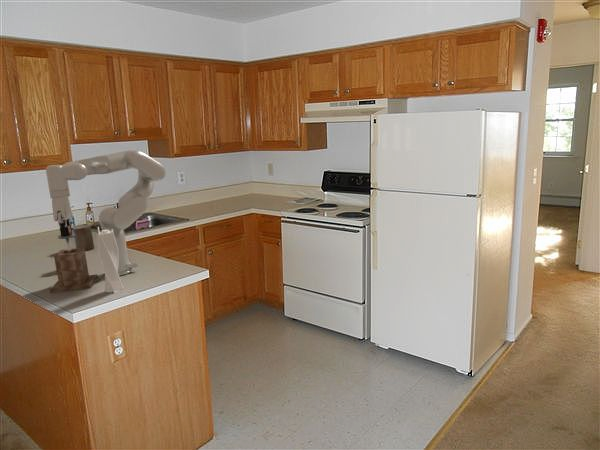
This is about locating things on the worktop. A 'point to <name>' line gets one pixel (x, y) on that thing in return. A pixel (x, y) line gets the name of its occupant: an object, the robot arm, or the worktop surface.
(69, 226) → the plunger
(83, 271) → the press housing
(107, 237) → the skyscraper
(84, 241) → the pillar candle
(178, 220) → the worktop surface
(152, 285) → the worktop surface
